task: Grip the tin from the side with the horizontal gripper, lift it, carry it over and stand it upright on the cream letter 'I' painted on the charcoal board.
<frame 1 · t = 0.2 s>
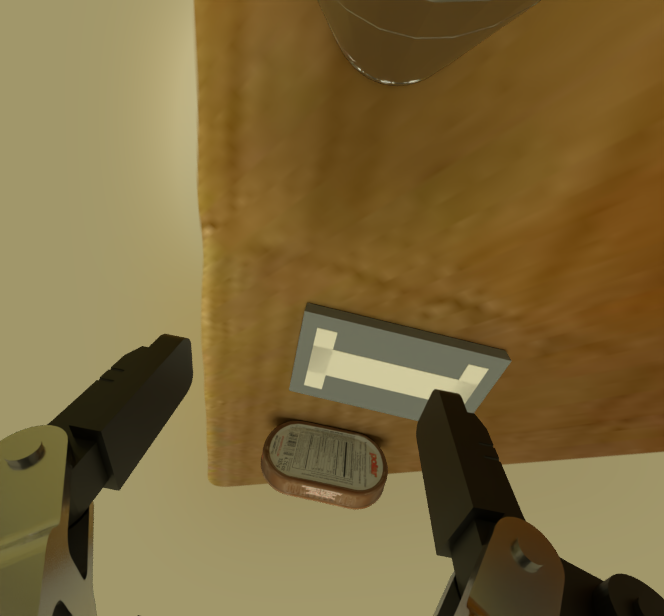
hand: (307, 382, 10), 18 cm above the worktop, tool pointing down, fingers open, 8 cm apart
tin: (329, 428, 40), on the worktop
letter board: (389, 366, 33), on the worktop
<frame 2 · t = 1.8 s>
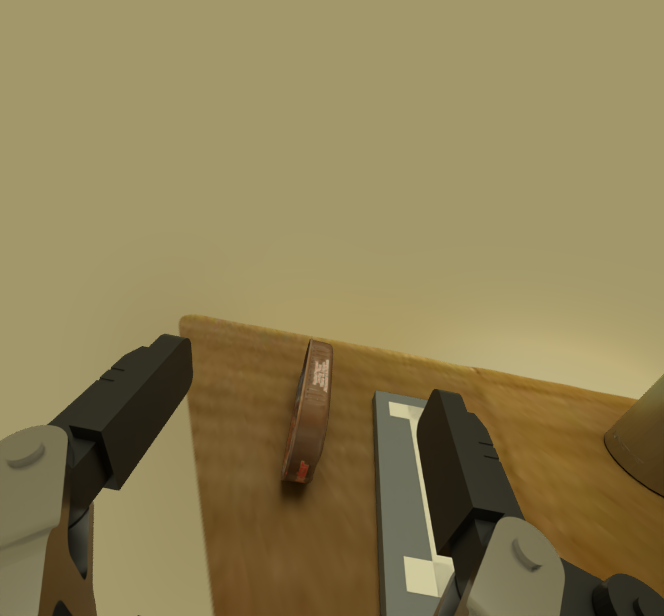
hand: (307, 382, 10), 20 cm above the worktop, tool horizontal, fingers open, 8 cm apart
tin: (304, 430, 32), on the worktop
letter board: (432, 489, 29), on the worktop
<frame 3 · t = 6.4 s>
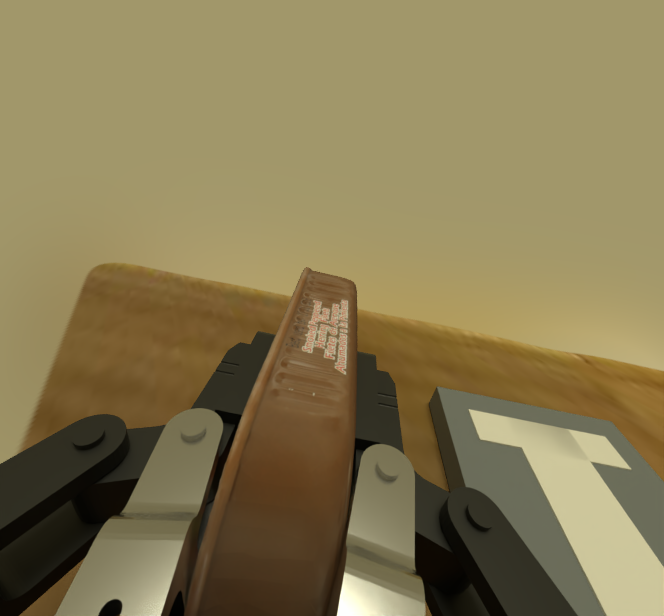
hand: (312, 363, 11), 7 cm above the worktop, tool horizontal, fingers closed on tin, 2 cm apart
tin: (294, 471, 14), on the worktop, touching gripper
when the fingers open (9 cm above the worktop, at t = 10.7 s): tin stays where it is, resting on letter board.
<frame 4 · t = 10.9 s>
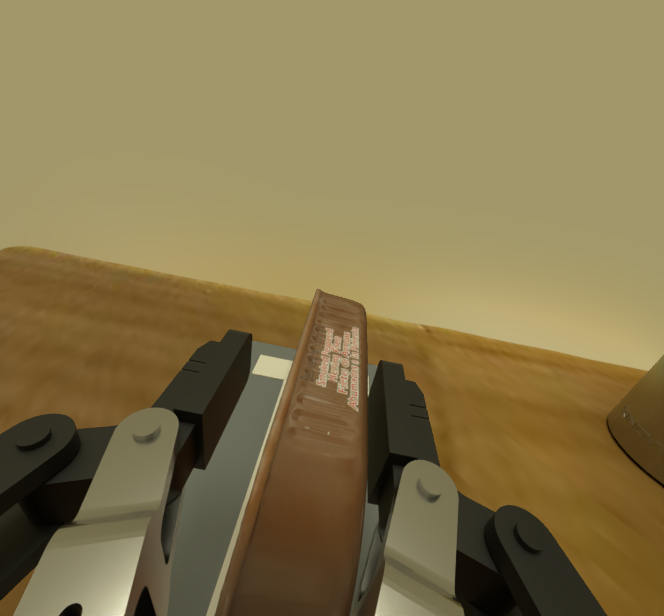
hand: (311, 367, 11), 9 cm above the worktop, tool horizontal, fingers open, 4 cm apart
tin: (296, 488, 15), point 1 cm above the worktop, touching letter board
letter board: (286, 497, 15), on the worktop
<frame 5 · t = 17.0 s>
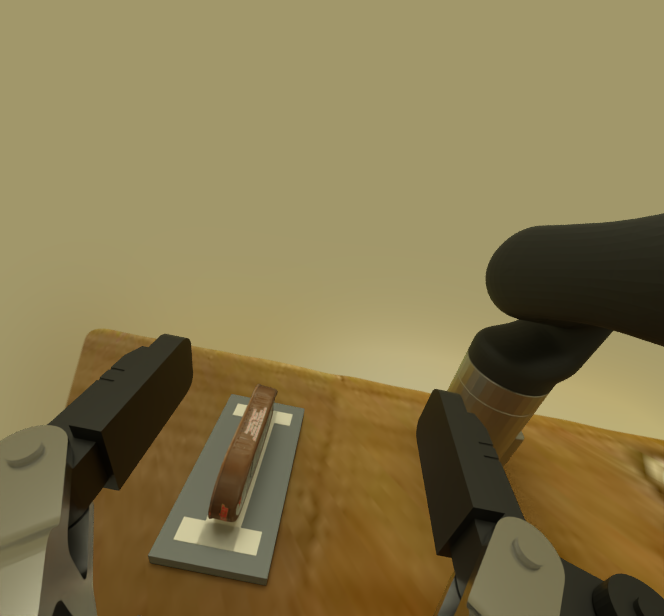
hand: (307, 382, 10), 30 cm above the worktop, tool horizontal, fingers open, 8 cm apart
tin: (247, 467, 36), point 1 cm above the worktop, touching letter board
letter board: (244, 471, 37), on the worktop
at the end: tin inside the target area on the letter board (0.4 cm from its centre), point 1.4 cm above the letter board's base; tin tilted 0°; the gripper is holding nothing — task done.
